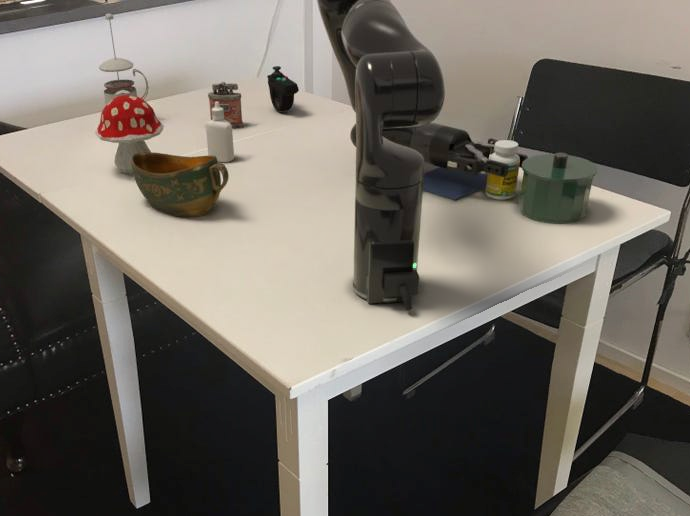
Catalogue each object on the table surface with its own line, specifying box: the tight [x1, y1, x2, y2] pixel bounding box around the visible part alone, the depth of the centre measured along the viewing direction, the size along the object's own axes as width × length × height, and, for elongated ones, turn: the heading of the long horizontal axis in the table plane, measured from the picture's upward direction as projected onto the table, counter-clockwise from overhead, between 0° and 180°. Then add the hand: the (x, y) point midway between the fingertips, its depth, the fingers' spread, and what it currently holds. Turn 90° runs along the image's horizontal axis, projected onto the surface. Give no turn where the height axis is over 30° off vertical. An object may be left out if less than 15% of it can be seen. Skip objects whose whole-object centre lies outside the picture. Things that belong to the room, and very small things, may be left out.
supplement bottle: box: [485, 139, 520, 201], centre depth 139 cm, size 5×5×10 cm
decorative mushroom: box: [94, 95, 165, 175], centre depth 157 cm, size 14×14×15 cm
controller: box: [266, 65, 300, 113], centre depth 187 cm, size 4×12×10 cm, turn 22°
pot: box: [518, 171, 594, 224], centre depth 133 cm, size 11×11×8 cm
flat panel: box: [423, 167, 488, 201], centre depth 148 cm, size 12×15×1 cm
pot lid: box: [521, 152, 599, 182], centre depth 130 cm, size 12×12×3 cm
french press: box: [98, 13, 149, 106], centre depth 180 cm, size 10×12×25 cm
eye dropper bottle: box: [205, 102, 235, 163], centre depth 160 cm, size 4×6×12 cm
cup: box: [131, 151, 230, 218], centre depth 140 cm, size 13×20×10 cm, turn 28°
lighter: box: [207, 81, 244, 129], centre depth 180 cm, size 8×3×10 cm, turn 73°
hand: (516, 166), depth 136 cm, fingers closed on supplement bottle, 5 cm apart
